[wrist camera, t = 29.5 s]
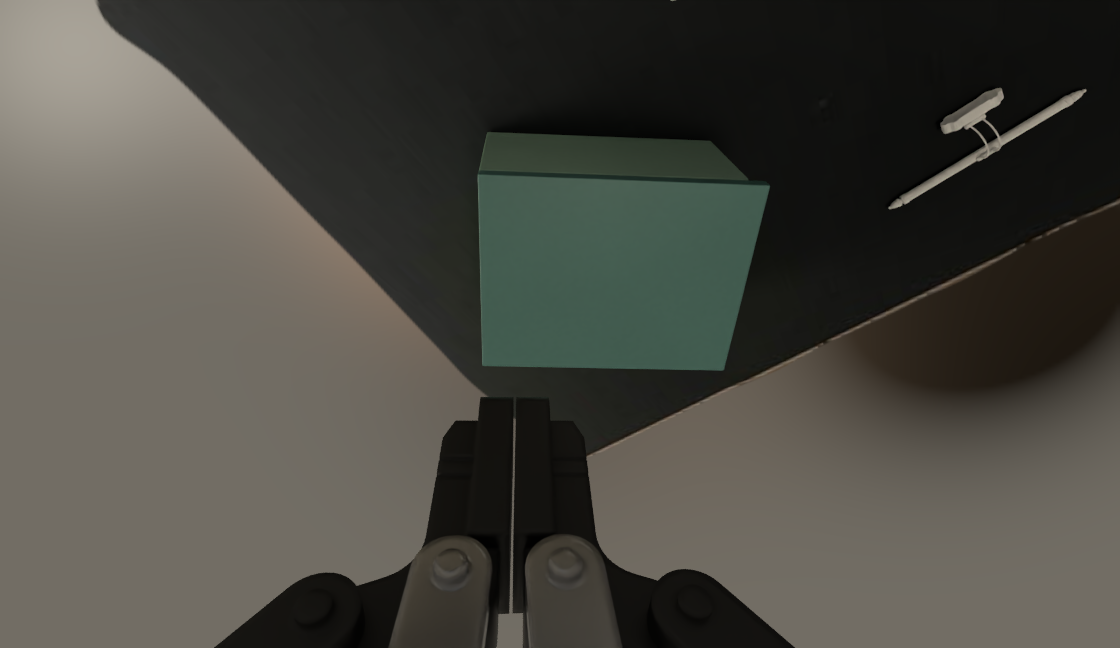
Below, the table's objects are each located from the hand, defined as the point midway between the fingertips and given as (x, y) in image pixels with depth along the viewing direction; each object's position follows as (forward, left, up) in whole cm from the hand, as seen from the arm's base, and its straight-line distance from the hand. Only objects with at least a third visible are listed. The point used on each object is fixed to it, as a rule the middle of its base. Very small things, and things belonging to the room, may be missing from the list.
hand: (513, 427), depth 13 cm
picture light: (0, +32, -31) cm, 45 cm away
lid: (+8, +6, -23) cm, 25 cm away
